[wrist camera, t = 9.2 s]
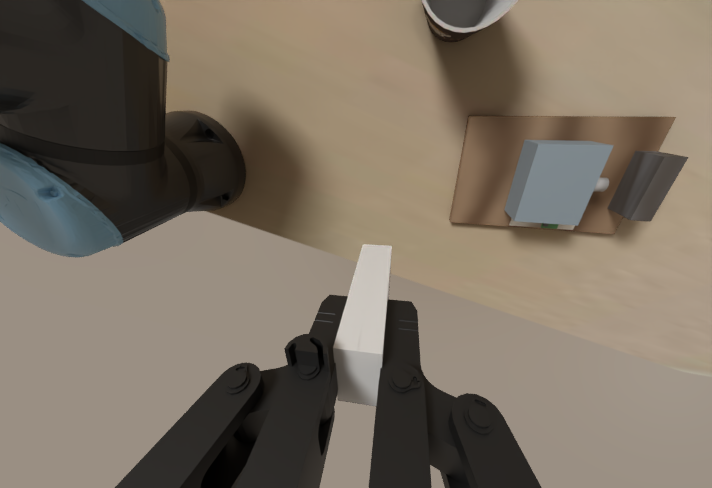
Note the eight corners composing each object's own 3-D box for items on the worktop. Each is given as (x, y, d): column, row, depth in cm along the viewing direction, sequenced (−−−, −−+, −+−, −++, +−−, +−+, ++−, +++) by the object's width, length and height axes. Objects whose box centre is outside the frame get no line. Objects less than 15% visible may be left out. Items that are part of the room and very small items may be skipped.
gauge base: (449, 219, 39) (453, 233, 34) (468, 116, 32) (477, 117, 28) (609, 230, 35) (636, 248, 31) (667, 116, 28) (713, 118, 24)
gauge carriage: (500, 222, 36) (510, 234, 33) (524, 139, 31) (538, 143, 27) (572, 227, 34) (590, 240, 31) (610, 141, 29) (636, 145, 26)
